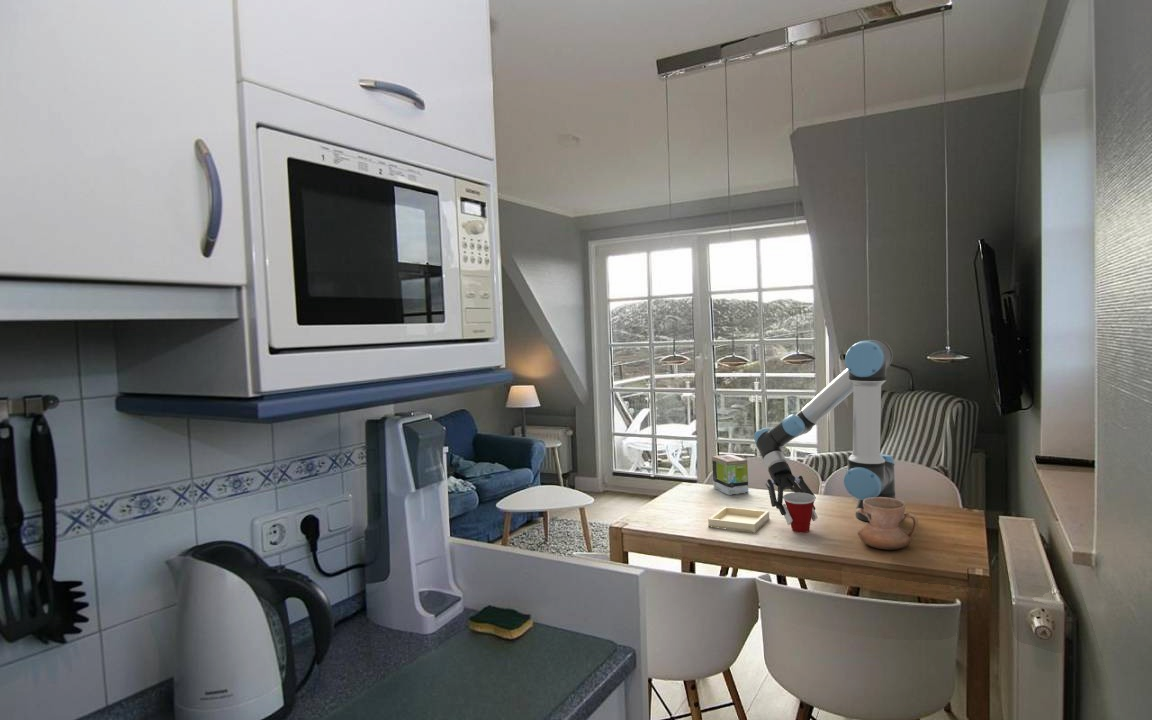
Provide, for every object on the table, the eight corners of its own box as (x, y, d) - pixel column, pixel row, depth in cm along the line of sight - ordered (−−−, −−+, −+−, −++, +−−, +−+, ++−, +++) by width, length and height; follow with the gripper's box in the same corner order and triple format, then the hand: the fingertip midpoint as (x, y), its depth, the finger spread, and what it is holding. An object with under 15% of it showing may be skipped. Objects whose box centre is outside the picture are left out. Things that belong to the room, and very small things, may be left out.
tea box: (749, 493, 275) (747, 459, 275) (728, 496, 273) (726, 461, 272) (733, 485, 290) (731, 453, 289) (712, 488, 288) (711, 455, 287)
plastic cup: (785, 535, 219) (784, 500, 218) (783, 525, 229) (781, 492, 229) (819, 535, 216) (817, 500, 216) (815, 525, 227) (813, 492, 226)
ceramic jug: (853, 549, 201) (852, 505, 201) (858, 535, 214) (857, 493, 213) (917, 558, 193) (917, 511, 192) (919, 542, 205) (918, 498, 204)
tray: (769, 519, 237) (769, 511, 237) (754, 532, 223) (754, 524, 223) (725, 514, 247) (725, 506, 247) (708, 527, 233) (708, 518, 233)
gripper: (800, 469, 241) (827, 522, 226) (747, 475, 237) (770, 530, 222) (807, 457, 235) (835, 511, 220) (753, 463, 231) (777, 519, 216)
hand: (802, 521), depth 221 cm, fingers closed on plastic cup, 9 cm apart
